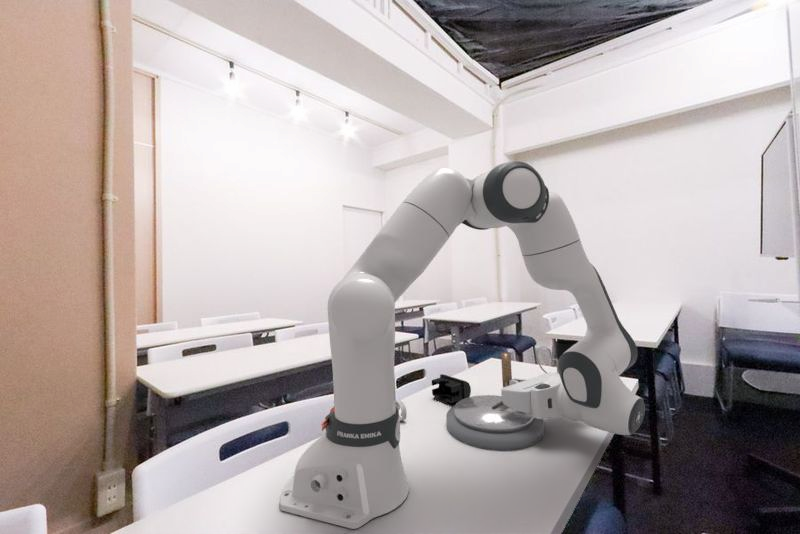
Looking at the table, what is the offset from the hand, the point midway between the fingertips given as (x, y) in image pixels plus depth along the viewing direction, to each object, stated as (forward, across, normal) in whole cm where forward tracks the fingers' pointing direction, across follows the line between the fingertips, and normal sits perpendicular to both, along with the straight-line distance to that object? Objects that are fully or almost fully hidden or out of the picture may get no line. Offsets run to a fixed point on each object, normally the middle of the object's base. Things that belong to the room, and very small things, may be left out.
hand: (512, 382), depth 90 cm
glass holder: (+4, -27, +9) cm, 29 cm away
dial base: (0, +8, +9) cm, 12 cm away
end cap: (+19, +5, +9) cm, 22 cm away
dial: (-1, +8, +6) cm, 10 cm away
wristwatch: (+17, +25, +9) cm, 31 cm away
